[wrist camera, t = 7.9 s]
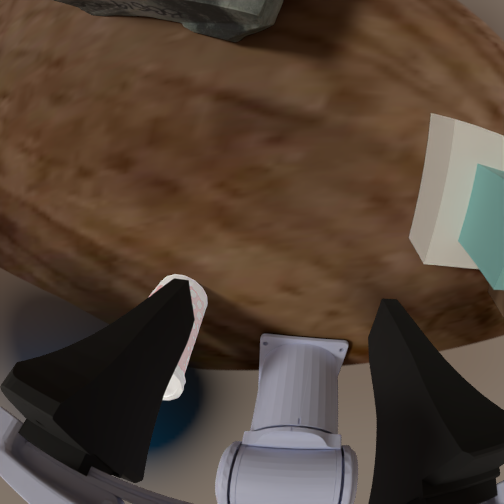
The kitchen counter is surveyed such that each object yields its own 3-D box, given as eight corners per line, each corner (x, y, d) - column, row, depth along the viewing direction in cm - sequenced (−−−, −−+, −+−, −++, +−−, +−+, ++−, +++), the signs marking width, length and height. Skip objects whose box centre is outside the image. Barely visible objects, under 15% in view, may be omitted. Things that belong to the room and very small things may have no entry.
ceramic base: (496, 249, 18) (516, 272, 15) (408, 237, 19) (423, 263, 16) (523, 144, 13) (551, 157, 10) (430, 113, 14) (455, 119, 12)
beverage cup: (179, 327, 28) (121, 453, 16) (139, 280, 26) (55, 404, 14) (229, 310, 25) (179, 461, 13) (187, 255, 23) (98, 406, 11)
